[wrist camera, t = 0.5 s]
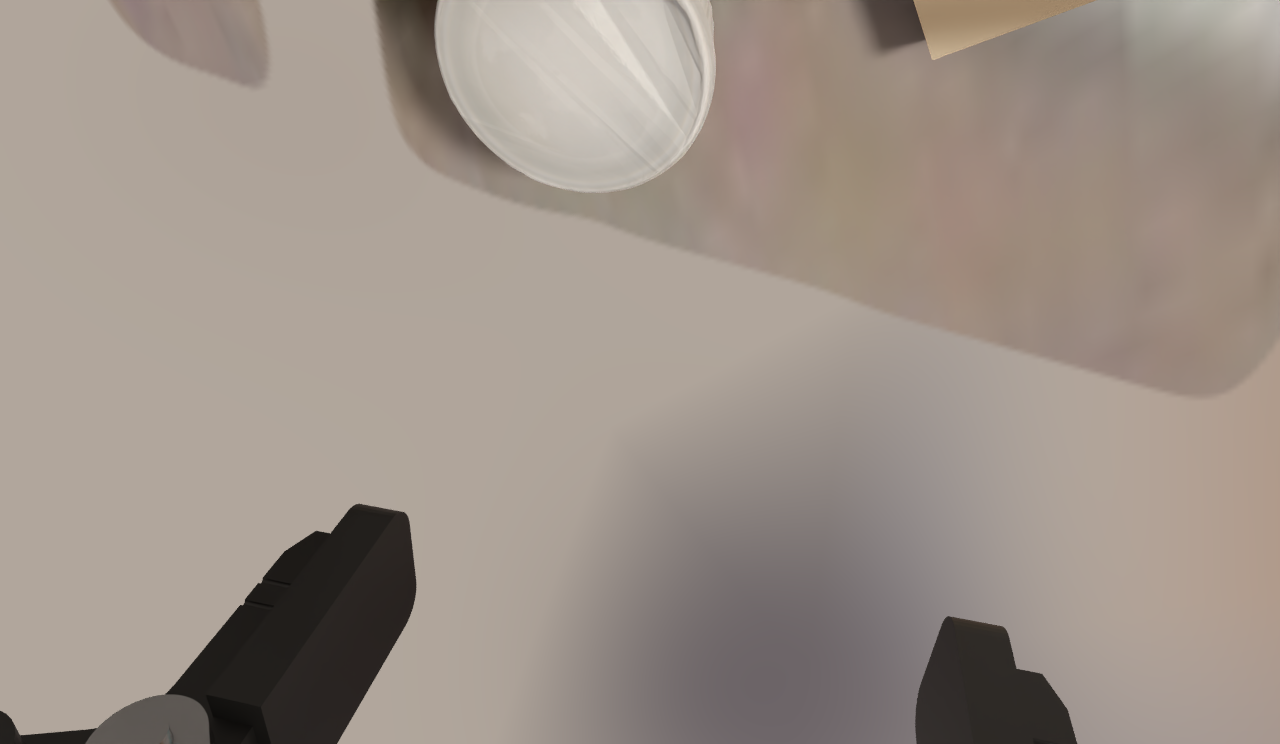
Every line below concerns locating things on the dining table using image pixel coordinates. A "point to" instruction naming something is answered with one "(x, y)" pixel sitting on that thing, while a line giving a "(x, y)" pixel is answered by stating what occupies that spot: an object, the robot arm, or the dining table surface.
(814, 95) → the dining table surface
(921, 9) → the post block
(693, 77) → the ramekin
